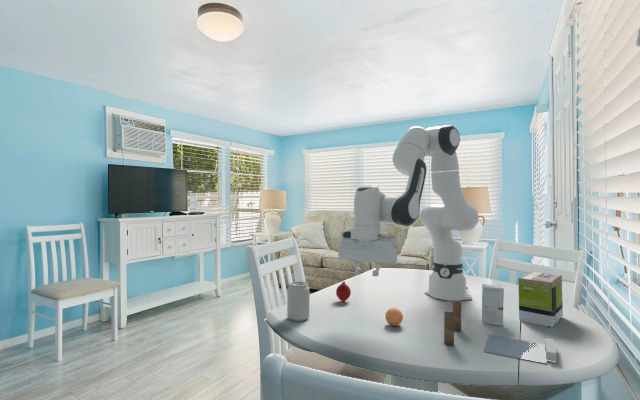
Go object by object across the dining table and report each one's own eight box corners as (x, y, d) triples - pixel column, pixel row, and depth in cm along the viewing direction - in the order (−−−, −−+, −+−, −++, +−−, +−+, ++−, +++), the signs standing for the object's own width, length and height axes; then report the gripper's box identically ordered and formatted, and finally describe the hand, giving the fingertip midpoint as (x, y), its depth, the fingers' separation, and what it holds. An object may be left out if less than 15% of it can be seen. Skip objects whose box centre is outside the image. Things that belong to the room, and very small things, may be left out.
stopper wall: (544, 347, 96) (544, 338, 96) (553, 348, 95) (553, 339, 95) (546, 361, 87) (546, 351, 87) (556, 363, 86) (556, 353, 86)
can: (312, 316, 121) (312, 281, 121) (304, 323, 114) (304, 286, 114) (292, 313, 123) (292, 279, 123) (283, 320, 116) (283, 284, 116)
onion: (349, 304, 136) (349, 283, 136) (335, 303, 137) (335, 282, 137) (351, 300, 141) (351, 280, 141) (337, 299, 142) (337, 279, 142)
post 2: (453, 327, 110) (453, 299, 110) (461, 329, 109) (461, 300, 109) (451, 330, 108) (451, 301, 108) (460, 332, 107) (460, 302, 107)
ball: (388, 321, 116) (388, 304, 116) (405, 324, 113) (405, 307, 113) (382, 326, 111) (382, 309, 111) (399, 329, 109) (399, 311, 109)
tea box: (530, 311, 128) (530, 270, 128) (563, 317, 121) (563, 275, 121) (517, 320, 118) (518, 276, 118) (552, 328, 111) (553, 281, 111)
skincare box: (483, 324, 114) (483, 286, 114) (481, 319, 118) (481, 283, 119) (504, 326, 112) (504, 288, 112) (501, 321, 117) (501, 285, 117)
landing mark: (488, 334, 105) (488, 334, 105) (544, 344, 98) (544, 344, 98) (484, 351, 93) (484, 351, 93) (547, 364, 86) (547, 363, 86)
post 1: (445, 341, 100) (445, 309, 100) (454, 343, 98) (454, 311, 98) (443, 344, 97) (443, 312, 97) (453, 346, 96) (453, 313, 96)
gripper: (400, 234, 115) (400, 276, 115) (344, 231, 125) (344, 270, 125) (393, 236, 109) (393, 280, 109) (336, 232, 120) (335, 273, 120)
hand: (366, 275), depth 117 cm, fingers open, 5 cm apart
